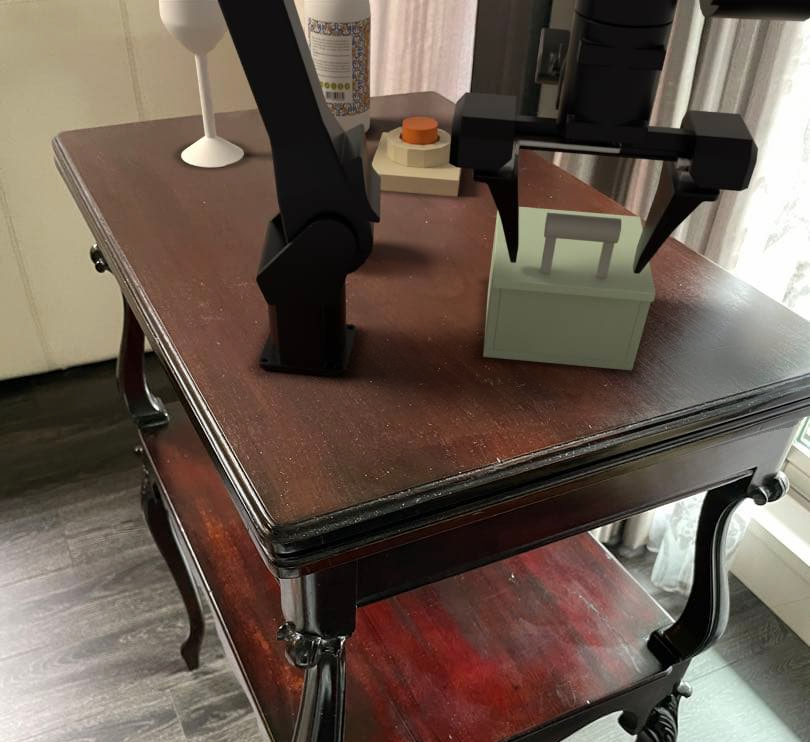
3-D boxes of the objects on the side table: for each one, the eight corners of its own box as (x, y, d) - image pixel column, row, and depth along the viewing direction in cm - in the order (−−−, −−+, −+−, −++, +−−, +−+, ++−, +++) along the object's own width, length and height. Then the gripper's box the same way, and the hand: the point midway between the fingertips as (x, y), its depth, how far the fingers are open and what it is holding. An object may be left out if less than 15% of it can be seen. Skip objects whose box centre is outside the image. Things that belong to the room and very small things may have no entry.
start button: (435, 148, 85) (436, 130, 84) (400, 146, 85) (400, 128, 84) (438, 135, 87) (439, 117, 86) (404, 132, 87) (404, 115, 86)
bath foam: (376, 138, 94) (378, -80, 80) (315, 142, 93) (306, -79, 78) (362, 116, 99) (362, -94, 84) (304, 119, 97) (294, -94, 83)
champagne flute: (240, 168, 87) (211, -123, 70) (175, 166, 87) (129, -127, 70) (248, 143, 92) (223, -136, 75) (187, 141, 92) (147, -139, 74)
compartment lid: (653, 302, 59) (672, 236, 55) (491, 288, 60) (500, 221, 56) (638, 224, 67) (653, 162, 64) (497, 213, 68) (504, 150, 64)
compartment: (631, 370, 64) (652, 297, 60) (483, 356, 65) (492, 283, 60) (621, 295, 72) (638, 225, 67) (488, 283, 72) (496, 213, 68)
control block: (457, 197, 84) (460, 161, 82) (368, 189, 85) (368, 154, 82) (463, 154, 92) (466, 121, 89) (382, 148, 92) (382, 114, 90)
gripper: (761, -10, 54) (692, 226, 65) (470, -31, 54) (451, 205, 66) (800, 41, 46) (713, 299, 57) (459, 16, 47) (440, 275, 58)
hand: (574, 265), depth 60 cm, fingers open, 8 cm apart
